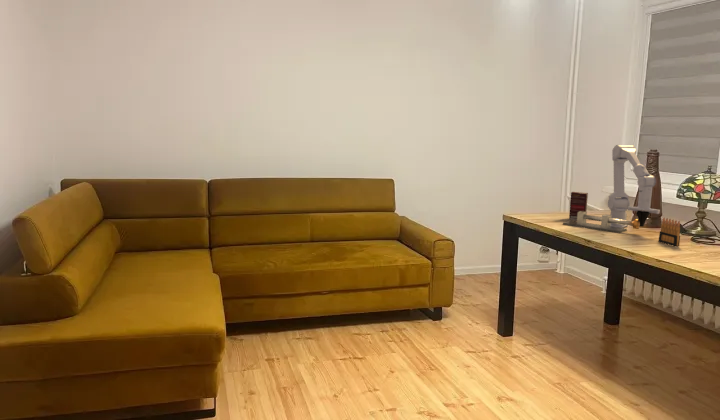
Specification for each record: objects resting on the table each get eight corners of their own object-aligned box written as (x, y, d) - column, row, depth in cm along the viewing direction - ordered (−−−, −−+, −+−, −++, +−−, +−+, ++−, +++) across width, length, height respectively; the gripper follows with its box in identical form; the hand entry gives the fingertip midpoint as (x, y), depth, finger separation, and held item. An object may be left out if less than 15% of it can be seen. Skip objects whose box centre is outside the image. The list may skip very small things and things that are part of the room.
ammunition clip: (679, 246, 254) (682, 221, 252) (676, 246, 254) (679, 221, 252) (661, 241, 264) (664, 216, 262) (658, 241, 264) (661, 217, 262)
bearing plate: (570, 222, 309) (571, 209, 308) (626, 230, 289) (628, 216, 288) (562, 224, 302) (564, 210, 301) (619, 233, 282) (621, 218, 280)
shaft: (585, 220, 301) (586, 211, 300) (639, 228, 282) (640, 219, 281) (581, 221, 298) (582, 212, 297) (636, 229, 278) (637, 220, 277)
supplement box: (585, 220, 318) (588, 192, 315) (584, 221, 314) (586, 193, 311) (570, 218, 322) (572, 191, 320) (568, 219, 318) (570, 192, 316)
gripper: (626, 198, 279) (623, 224, 281) (657, 202, 269) (654, 229, 271) (631, 197, 284) (628, 223, 286) (662, 200, 274) (659, 227, 276)
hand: (641, 226), depth 279 cm, fingers closed
